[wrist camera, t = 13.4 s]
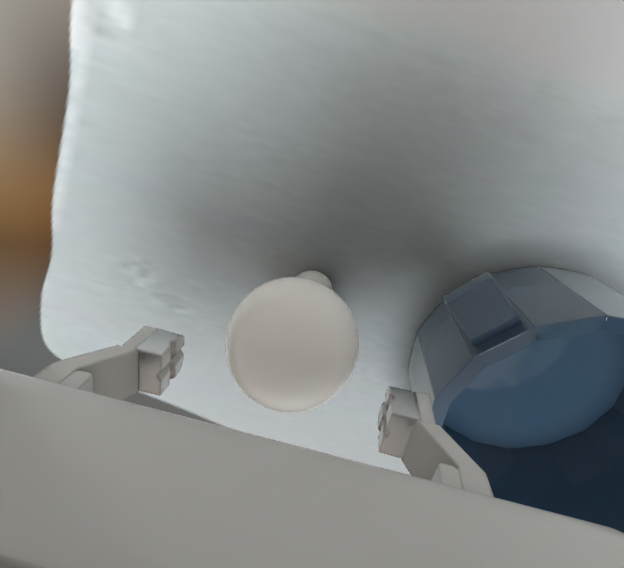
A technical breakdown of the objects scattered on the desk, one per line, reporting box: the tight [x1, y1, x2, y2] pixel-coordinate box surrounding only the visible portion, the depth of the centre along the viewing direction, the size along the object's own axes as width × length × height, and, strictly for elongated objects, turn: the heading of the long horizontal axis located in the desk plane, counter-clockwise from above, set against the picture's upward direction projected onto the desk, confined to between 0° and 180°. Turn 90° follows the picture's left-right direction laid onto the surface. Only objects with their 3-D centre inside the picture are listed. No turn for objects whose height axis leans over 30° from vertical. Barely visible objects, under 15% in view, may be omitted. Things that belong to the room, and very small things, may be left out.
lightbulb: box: [225, 270, 359, 413], centre depth 20 cm, size 6×6×11 cm
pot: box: [408, 266, 624, 533], centre depth 22 cm, size 15×20×7 cm
